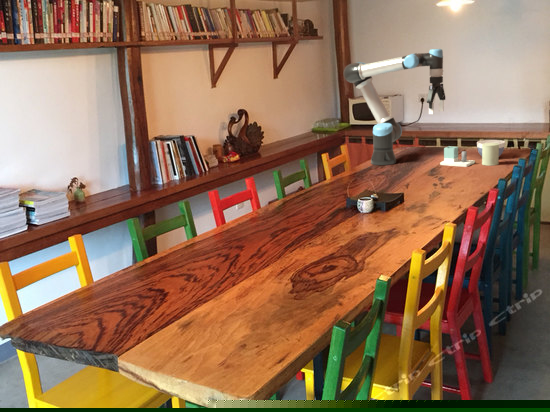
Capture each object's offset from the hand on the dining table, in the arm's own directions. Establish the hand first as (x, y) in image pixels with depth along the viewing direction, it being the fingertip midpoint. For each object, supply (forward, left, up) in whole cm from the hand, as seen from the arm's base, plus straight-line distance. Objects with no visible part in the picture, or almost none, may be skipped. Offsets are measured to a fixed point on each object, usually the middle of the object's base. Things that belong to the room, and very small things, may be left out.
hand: (436, 112), depth 377 cm
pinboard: (+16, -6, -29) cm, 33 cm away
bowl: (+26, +18, -29) cm, 43 cm away
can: (+33, 0, -29) cm, 44 cm away
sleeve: (+12, -6, -27) cm, 30 cm away
